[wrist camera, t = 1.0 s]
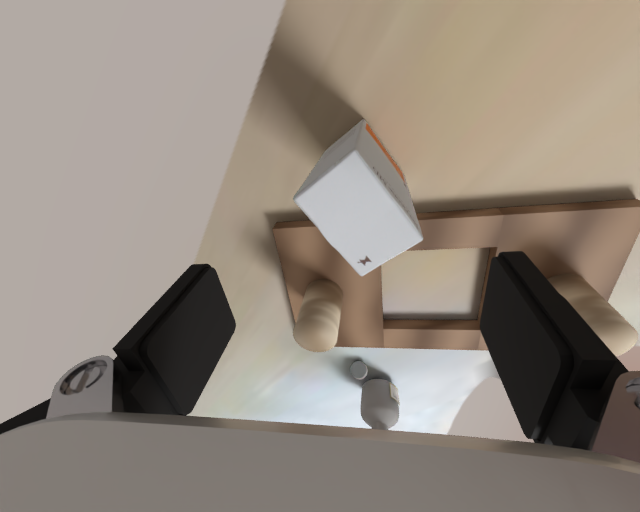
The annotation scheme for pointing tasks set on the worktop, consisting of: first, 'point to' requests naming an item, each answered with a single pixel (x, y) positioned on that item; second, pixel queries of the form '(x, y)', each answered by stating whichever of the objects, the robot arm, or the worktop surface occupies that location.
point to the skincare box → (360, 201)
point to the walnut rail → (501, 236)
